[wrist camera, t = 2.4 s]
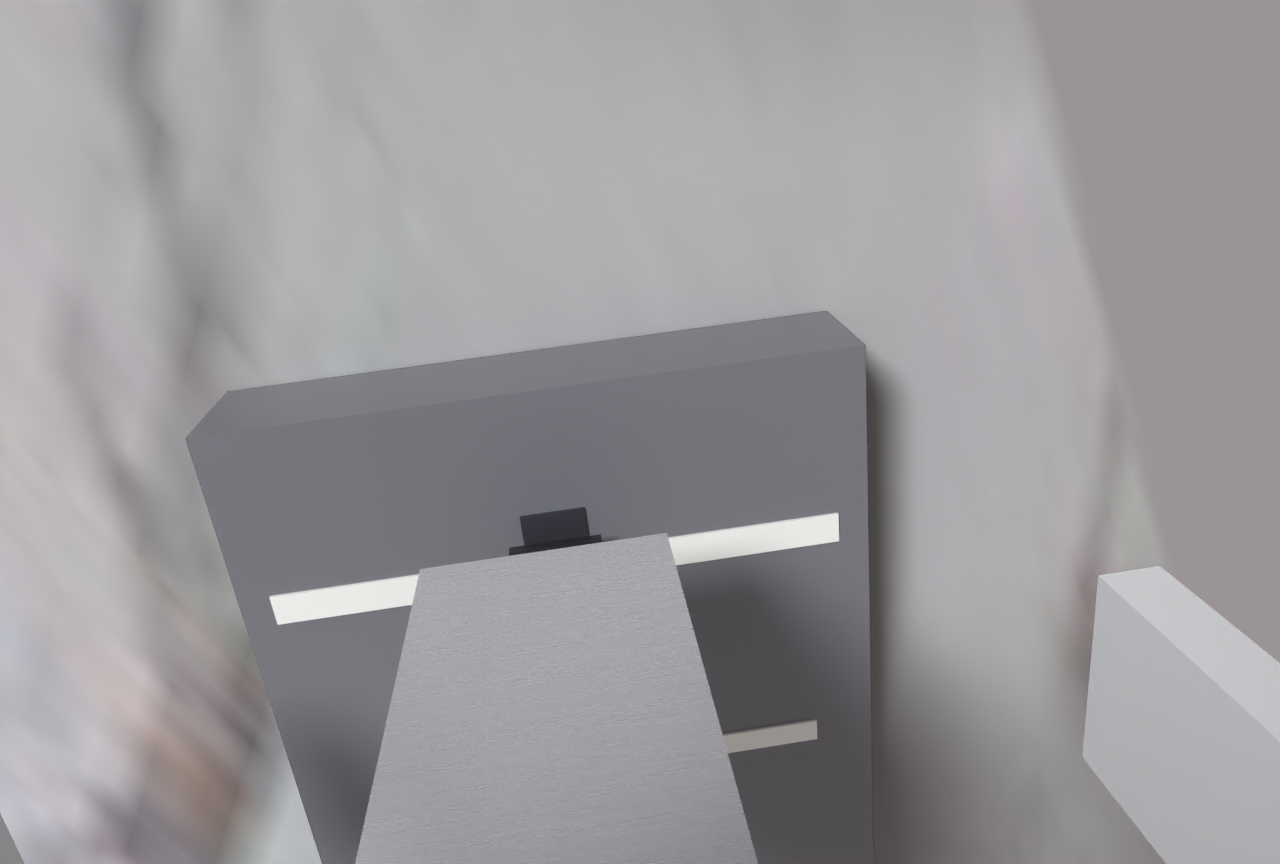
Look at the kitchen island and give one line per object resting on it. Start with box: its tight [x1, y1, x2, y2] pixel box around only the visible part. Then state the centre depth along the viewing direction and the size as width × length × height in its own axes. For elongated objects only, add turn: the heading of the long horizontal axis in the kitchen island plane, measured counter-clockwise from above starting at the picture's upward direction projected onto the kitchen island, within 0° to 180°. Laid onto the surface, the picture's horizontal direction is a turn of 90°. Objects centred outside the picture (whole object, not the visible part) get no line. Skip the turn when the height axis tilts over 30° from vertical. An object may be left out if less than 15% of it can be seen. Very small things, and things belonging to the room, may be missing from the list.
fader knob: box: [355, 533, 758, 864], centre depth 10 cm, size 4×3×9 cm
